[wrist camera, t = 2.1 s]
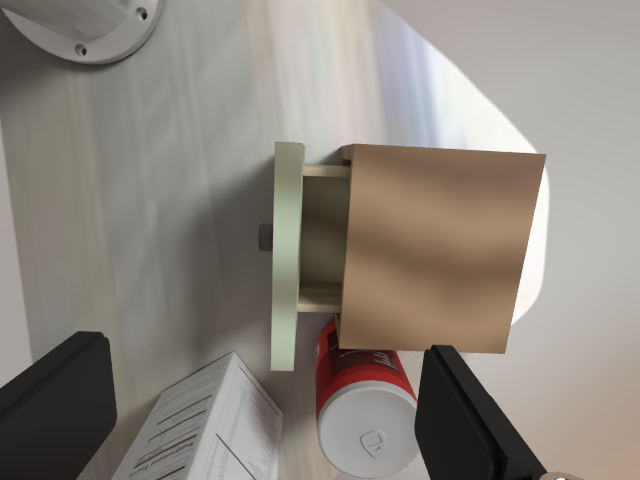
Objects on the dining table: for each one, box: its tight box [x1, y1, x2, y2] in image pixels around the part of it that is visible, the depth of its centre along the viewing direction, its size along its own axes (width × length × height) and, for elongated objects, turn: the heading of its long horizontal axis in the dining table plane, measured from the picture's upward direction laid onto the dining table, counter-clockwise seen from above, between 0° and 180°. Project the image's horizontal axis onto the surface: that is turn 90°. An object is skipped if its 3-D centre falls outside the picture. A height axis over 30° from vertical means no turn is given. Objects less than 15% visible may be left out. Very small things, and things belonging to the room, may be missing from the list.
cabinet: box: [334, 144, 546, 354], centre depth 27 cm, size 14×12×9 cm
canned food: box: [315, 320, 420, 479], centre depth 29 cm, size 8×8×11 cm
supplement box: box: [111, 352, 283, 480], centre depth 27 cm, size 10×9×17 cm
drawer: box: [259, 142, 351, 371], centre depth 25 cm, size 14×14×12 cm
